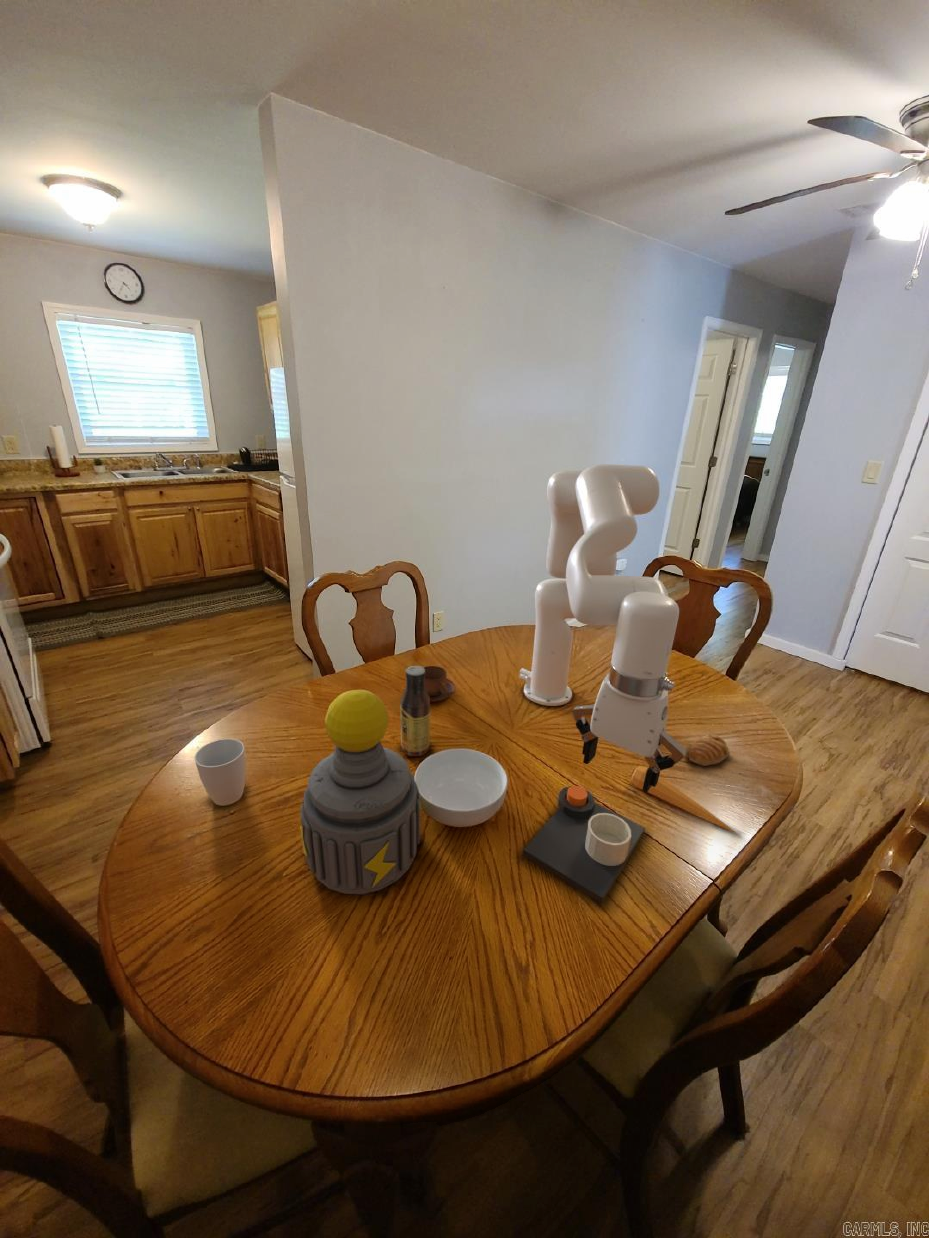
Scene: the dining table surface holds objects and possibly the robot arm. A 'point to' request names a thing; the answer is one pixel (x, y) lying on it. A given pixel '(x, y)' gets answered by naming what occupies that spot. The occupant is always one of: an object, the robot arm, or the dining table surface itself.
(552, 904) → the dining table surface
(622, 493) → the robot arm
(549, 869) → the scale
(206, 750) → the cup
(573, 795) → the power button
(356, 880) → the decorative lamp
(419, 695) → the sauce bottle
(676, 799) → the carrot
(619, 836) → the small bowl
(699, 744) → the pastry
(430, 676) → the cup and saucer
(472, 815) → the cereal bowl
